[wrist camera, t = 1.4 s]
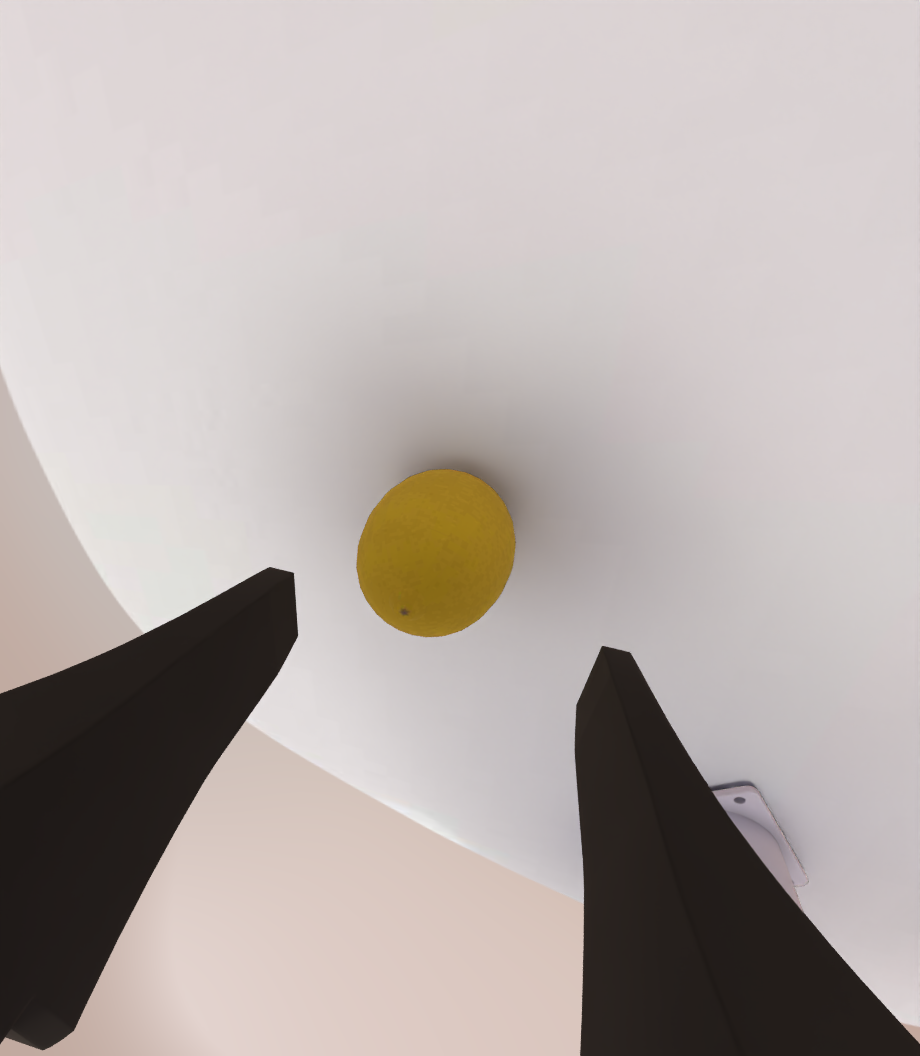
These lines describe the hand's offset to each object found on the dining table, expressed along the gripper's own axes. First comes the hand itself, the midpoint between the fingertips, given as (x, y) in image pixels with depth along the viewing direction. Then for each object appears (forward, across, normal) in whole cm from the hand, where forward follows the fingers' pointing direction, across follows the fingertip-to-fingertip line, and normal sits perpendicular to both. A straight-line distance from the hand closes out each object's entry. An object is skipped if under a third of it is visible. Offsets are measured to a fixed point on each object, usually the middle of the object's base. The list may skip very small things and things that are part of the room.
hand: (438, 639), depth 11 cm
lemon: (+10, +1, +2) cm, 11 cm away
